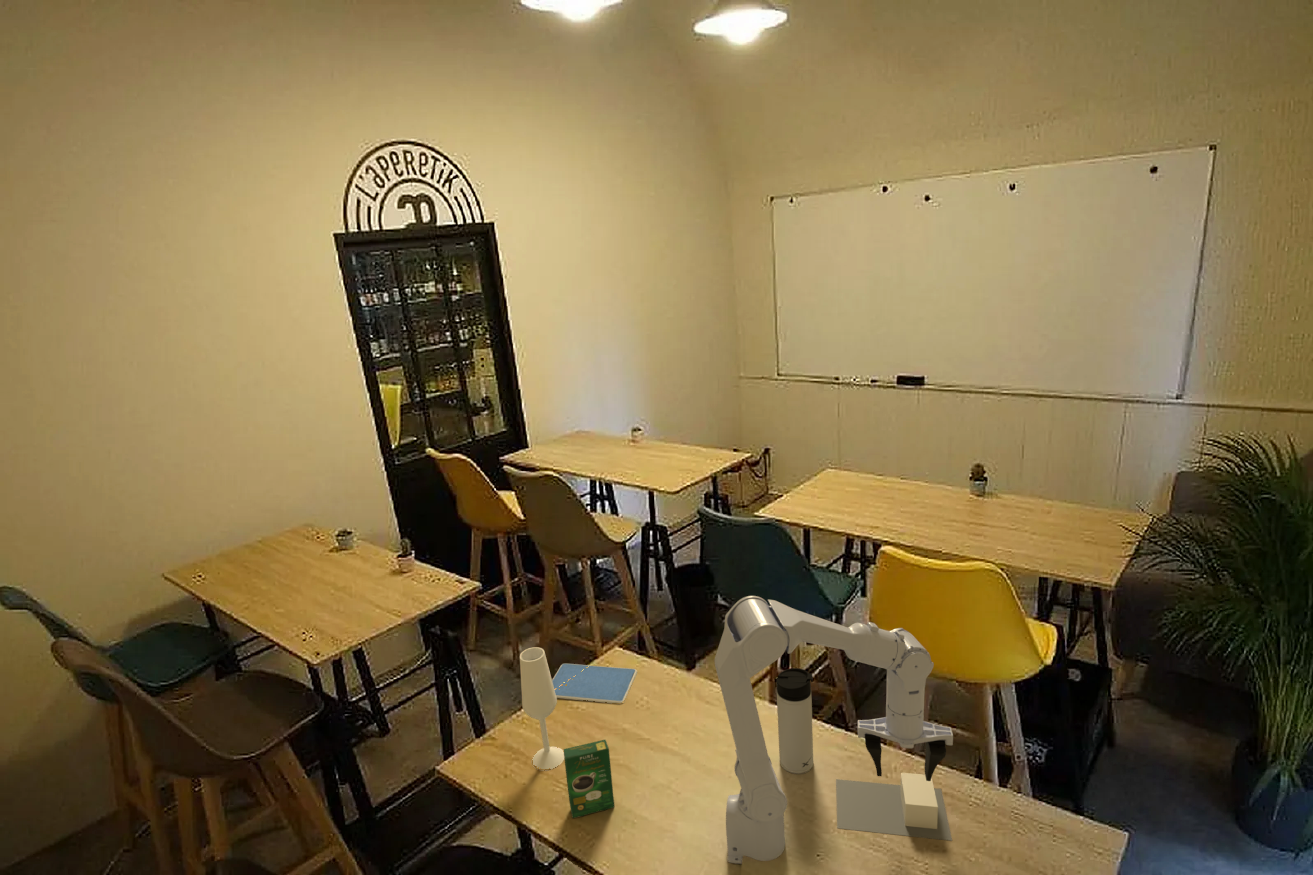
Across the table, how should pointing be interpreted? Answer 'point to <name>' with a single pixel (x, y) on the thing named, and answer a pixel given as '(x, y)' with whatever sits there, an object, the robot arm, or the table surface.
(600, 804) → the coffee box
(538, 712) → the champagne flute
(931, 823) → the cream rectangular block
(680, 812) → the table surface
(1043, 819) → the table surface
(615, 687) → the tablet computer
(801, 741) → the travel mug
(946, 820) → the board
